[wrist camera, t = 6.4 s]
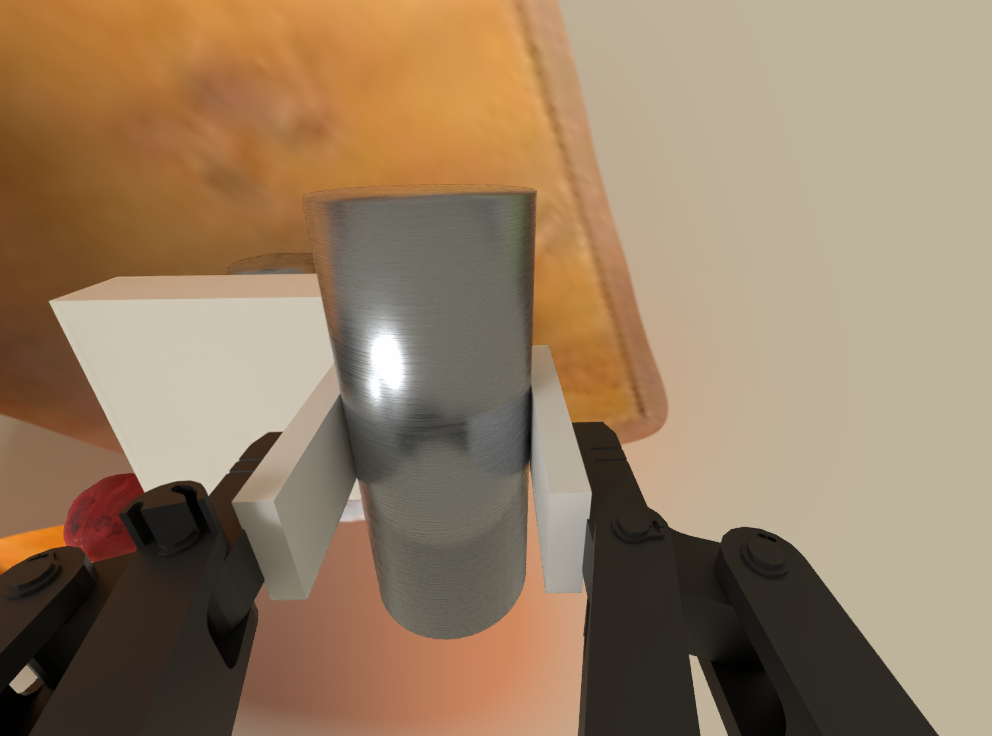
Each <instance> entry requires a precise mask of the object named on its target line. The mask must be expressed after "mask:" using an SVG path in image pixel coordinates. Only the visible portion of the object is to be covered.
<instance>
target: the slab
mask: <svg viewBox="0 0 992 736" xmlns="http://www.w3.org/2000/svg"><path fill="white" fill-rule="evenodd" d="M49 303H50V305H51V307H52V309H53V311H54V313H55V315H56V317H57V319H58V321H59V323H60V325H61V327H62V329H63V331H64V333H65V335H66V337H67V339H68V341H69V343H70V345H71V347H72V349H73V351H74V353H75V355H76V357H77V359H78V361H79V363H80V365H81V367H82V369H83V371H84V373H85V375H86V377H87V379H88V381H89V383H90V385H91V387H92V389H93V391H94V393H95V395H96V397H97V399H98V401H99V403H100V405H101V407H102V409H103V411H104V413H105V415H106V417H107V419H108V421H109V423H110V425H111V427H112V429H113V431H114V433H115V435H116V437H117V439H118V441H119V443H120V445H121V447H122V449H123V450H124V452H125V454H126V456H127V458H128V460H129V462H130V464H131V466H132V468H133V470H134V472H135V474H136V476H137V478H138V480H139V482H140V484H141V486H142V488H143V490H144V492H147V491H149V490H151V489H154V488H156V487H158V486H160V485H164V484H168V483H171V482H175V481H187V480H191V481H195V482H199V483H201V484H202V485H203V487H204V488H205V489H206V491H207V494H208V496H209V495H210V494H211V492H212V491H213V490H214V489H215V487H216V486H217V485H218V484H219V483H220V481H221V480H222V479H223V478H224V476H225V475H226V474H229V470H230V469H231V468H232V467H233V465H234V464H235V463H236V462H238V461H239V458H240V457H241V456H242V454H243V453H244V452H245V451H246V449H247V448H248V447H249V446H250V445H251V444H252V443H253V442H255V441H256V440H258V439H259V438H261V437H262V436H263V435H265V434H266V433H268V432H283V431H284V430H285V429H286V427H287V426H288V425H289V423H290V422H291V421H292V419H293V418H294V416H295V415H296V414H297V412H298V411H299V410H300V408H301V407H302V406H303V404H304V403H305V401H306V400H307V399H308V397H309V396H310V395H311V393H312V392H313V391H314V389H315V388H316V387H317V385H318V384H319V382H320V381H321V380H322V378H323V377H324V376H325V374H326V373H327V372H328V370H329V369H330V367H331V366H332V365H333V363H334V358H333V353H332V348H331V343H330V338H329V333H328V328H327V323H326V318H325V313H324V308H323V303H322V298H321V293H320V288H319V283H318V278H317V274H264V275H194V276H124V277H115V278H112V279H109V280H106V281H104V282H101V283H98V284H95V285H92V286H90V287H87V288H84V289H81V290H78V291H75V292H73V293H70V294H67V295H64V296H61V297H59V298H56V299H53V300H50V301H49ZM348 500H361V495H360V490H359V485H358V480H357V479H356V481H355V484H354V486H353V489H352V491H351V494H350V496H349V499H348Z"/></svg>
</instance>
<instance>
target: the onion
mask: <svg viewBox="0 0 992 736" xmlns="http://www.w3.org/2000/svg"><path fill="white" fill-rule="evenodd" d="M143 493H145V492H144V490H143V488H142V486H141V484H140V482H139V480H138V478H137V476H136V474H133V473H129V474H119V475H114V476H110V477H107V478H104V479H102V480H100V481H99V482H97V483H96V484H95V485H93V486H91V487H90V488H88V489H87V490H85V491H84V492H82V493H81V494H80V495H79V496H78V497H77V498H76V499H75V500H74V502H73V504H72V506H71V508H70V510H69V512H68V516H67V520H66V522H65V525H64V532H63V534H64V541H65V543H66V545H67V546H72V547H79V548H81V549H82V550H83V551H84V553H85V554H86V555H87V557H88V558H89V560H90V561H91V562H97V561H101V560H104V559H108V558H112V557H116V556H120V555H124V554H128V553H131V552H135V551H136V550H137V547H136V545H135V543H134V542H133V540H132V538H131V536H130V535H129V533H128V531H127V529H126V528H125V526H124V524H123V522H122V521H121V519H120V517H119V515H118V514H119V513H120V511H121V510H122V509H123V508H124V507H125V506H126V505H127V504H128V503H129V502H131V501H132V500H134V499H135V498H137V497H138V496H140V495H141V494H143Z"/></svg>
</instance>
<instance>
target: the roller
mask: <svg viewBox="0 0 992 736" xmlns="http://www.w3.org/2000/svg"><path fill="white" fill-rule="evenodd" d="M536 196H537V191H536V190H535V189H532V188H526V187H518V186H505V185H478V184H429V185H395V186H374V187H358V188H346V189H335V190H326V191H319V192H313V193H308V194H305V195H303V196H302V202H303V207H304V212H305V217H306V222H307V227H308V232H309V237H310V242H311V247H312V252H313V257H314V263H315V268H316V273H317V278H318V283H319V288H320V293H321V298H322V303H323V308H324V313H325V318H326V323H327V328H328V333H329V338H330V343H331V348H332V353H333V358H334V364H335V369H336V374H337V379H338V384H339V389H340V394H341V399H342V404H343V409H344V414H345V419H346V424H347V429H348V434H349V439H350V444H351V449H352V454H353V459H354V464H355V470H356V475H357V480H358V485H359V490H360V495H361V500H362V505H363V510H364V515H365V520H366V525H367V530H368V535H369V540H370V545H371V550H372V555H373V560H374V565H375V570H376V576H377V581H378V585H379V590H380V595H381V598H382V601H383V604H384V606H385V608H386V609H387V611H388V612H389V614H390V615H391V616H392V618H393V619H394V620H396V621H397V622H398V623H399V624H400V625H401V626H403V627H404V628H406V629H407V630H409V631H411V632H413V633H415V634H418V635H421V636H424V637H428V638H434V639H457V638H462V637H467V636H471V635H473V634H476V633H479V632H481V631H483V630H485V629H487V628H489V627H491V626H492V625H494V624H495V623H497V622H498V621H499V620H500V619H502V618H503V617H504V616H505V615H506V614H507V613H508V612H509V610H510V609H511V608H512V607H513V606H514V604H515V603H516V601H517V599H518V598H519V596H520V593H521V591H522V589H523V585H524V582H525V575H526V548H527V514H528V513H527V512H528V478H529V476H528V475H529V443H530V408H531V372H532V337H533V302H534V266H535V231H536Z"/></svg>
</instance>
